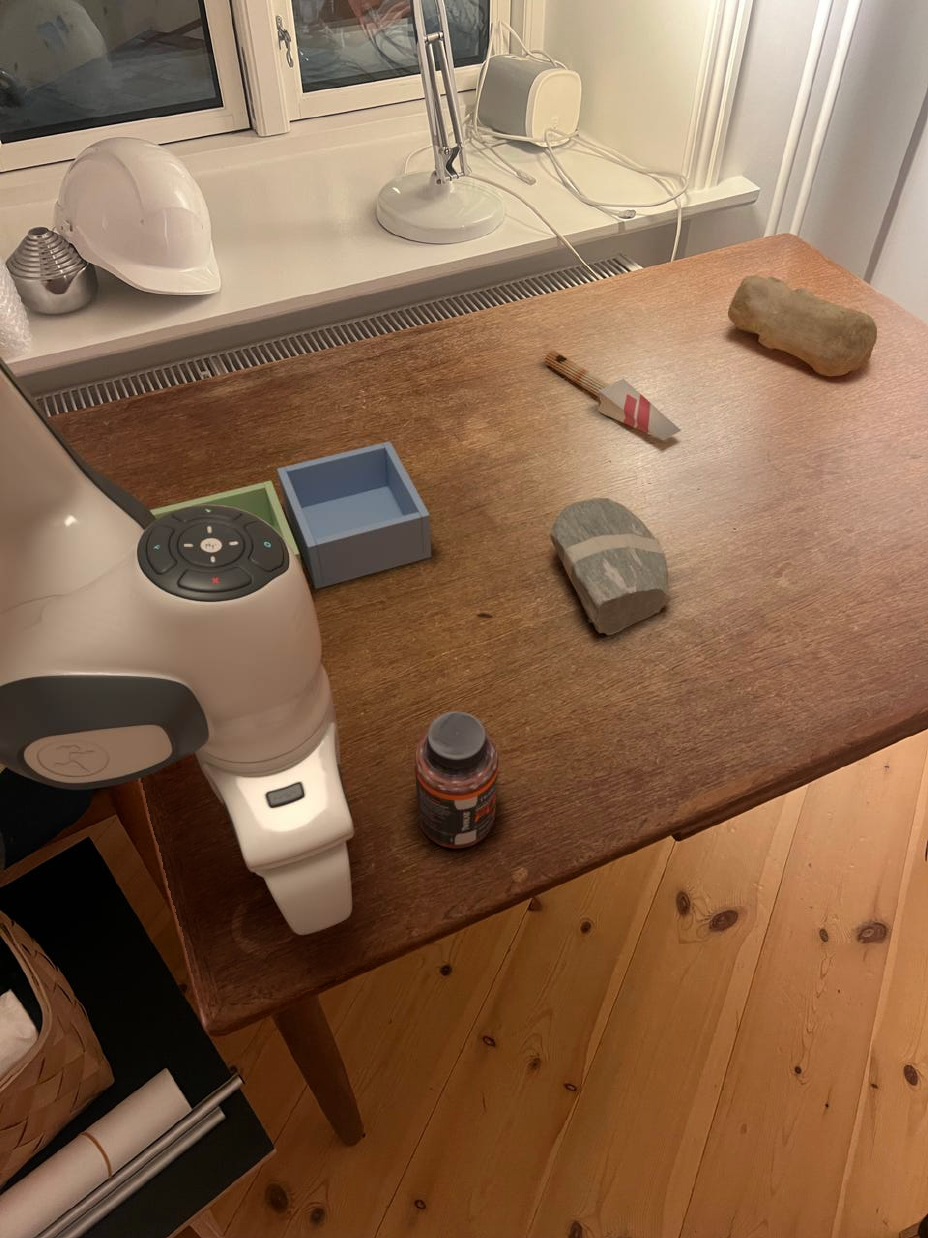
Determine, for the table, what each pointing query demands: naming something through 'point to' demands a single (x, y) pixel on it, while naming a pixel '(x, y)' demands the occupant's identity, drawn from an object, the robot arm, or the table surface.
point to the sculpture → (803, 325)
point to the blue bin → (355, 514)
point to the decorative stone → (611, 563)
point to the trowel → (617, 399)
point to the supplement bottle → (456, 780)
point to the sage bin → (246, 507)
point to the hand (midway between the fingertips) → (296, 833)
